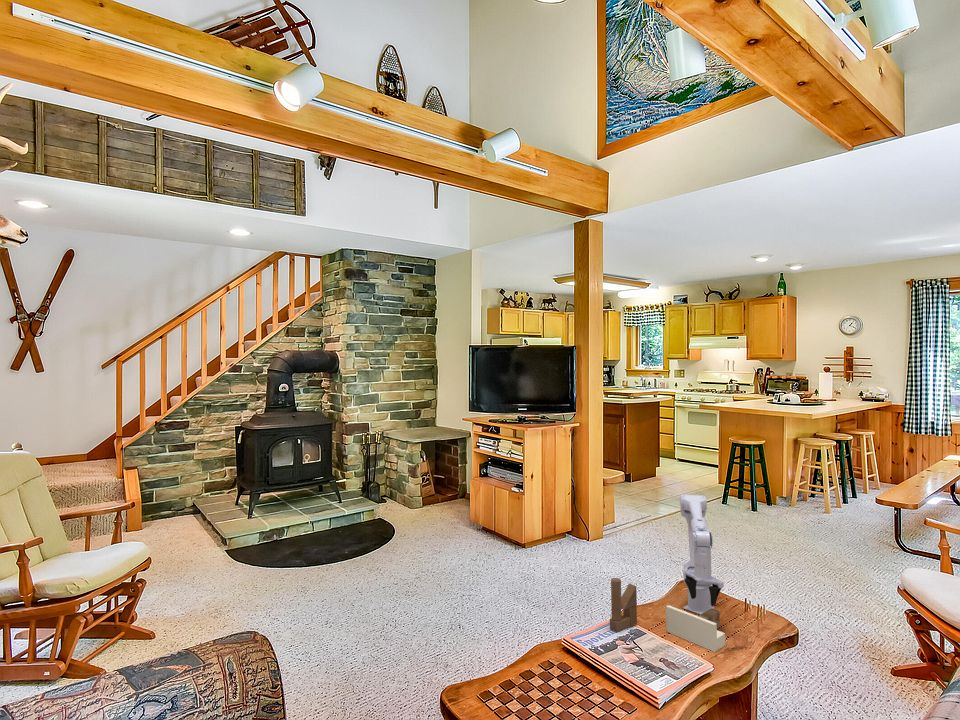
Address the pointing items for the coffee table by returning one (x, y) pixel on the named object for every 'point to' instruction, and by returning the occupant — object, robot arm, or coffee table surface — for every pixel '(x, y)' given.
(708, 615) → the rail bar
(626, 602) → the brown upright shaped block
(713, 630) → the stepped cream panel
